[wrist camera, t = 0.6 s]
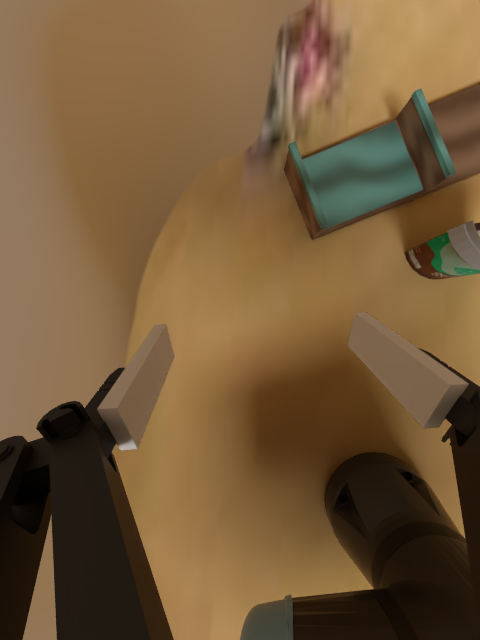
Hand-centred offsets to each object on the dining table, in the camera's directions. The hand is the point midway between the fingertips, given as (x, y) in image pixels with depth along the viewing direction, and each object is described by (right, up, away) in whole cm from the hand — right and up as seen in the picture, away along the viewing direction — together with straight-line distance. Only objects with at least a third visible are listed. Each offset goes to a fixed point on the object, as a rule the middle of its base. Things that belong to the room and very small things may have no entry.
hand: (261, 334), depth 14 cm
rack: (+24, +26, +16) cm, 39 cm away
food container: (+29, +9, +16) cm, 34 cm away
